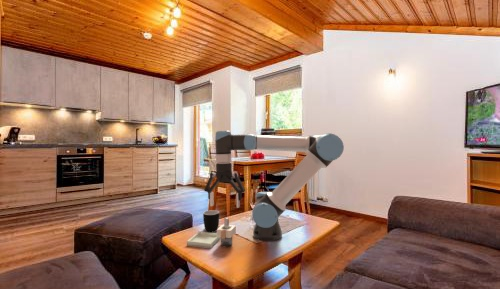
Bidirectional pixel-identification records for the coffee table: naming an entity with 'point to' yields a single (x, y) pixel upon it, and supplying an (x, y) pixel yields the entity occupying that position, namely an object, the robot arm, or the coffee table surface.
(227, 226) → the peg stand
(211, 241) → the tray
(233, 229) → the white hollow block
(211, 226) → the mug
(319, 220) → the coffee table surface
